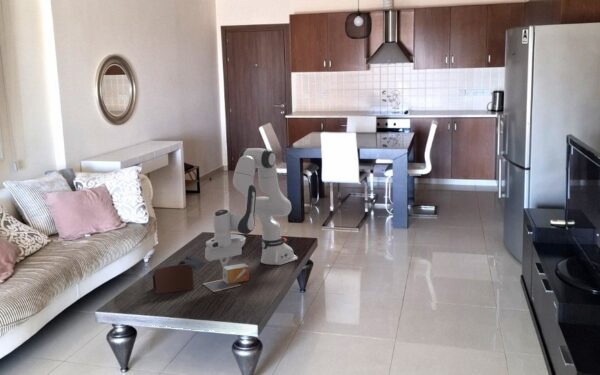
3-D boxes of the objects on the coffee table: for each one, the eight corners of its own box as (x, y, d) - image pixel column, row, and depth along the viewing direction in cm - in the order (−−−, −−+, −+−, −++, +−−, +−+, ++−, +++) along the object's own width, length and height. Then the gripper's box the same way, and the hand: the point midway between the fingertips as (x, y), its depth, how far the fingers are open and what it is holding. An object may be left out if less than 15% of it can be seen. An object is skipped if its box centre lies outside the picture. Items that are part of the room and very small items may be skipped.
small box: (227, 269, 311) (249, 266, 318) (222, 266, 316) (244, 262, 323) (227, 284, 313) (249, 280, 319) (222, 280, 318) (244, 276, 325)
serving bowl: (244, 253, 367) (243, 242, 365) (210, 254, 367) (210, 243, 366) (247, 243, 387) (247, 233, 386) (215, 244, 387) (215, 234, 386)
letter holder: (194, 289, 309) (192, 263, 306) (155, 294, 302) (153, 268, 300) (190, 282, 318) (189, 258, 316) (153, 288, 312) (151, 263, 309)
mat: (229, 278, 323) (229, 277, 323) (241, 285, 311) (241, 285, 311) (202, 284, 315) (202, 283, 315) (213, 292, 303) (213, 291, 303)
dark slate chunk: (167, 274, 333) (166, 266, 332) (182, 262, 354) (181, 254, 353) (192, 275, 330) (192, 267, 329) (206, 263, 351) (205, 255, 350)
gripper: (238, 235, 317) (239, 260, 320) (202, 242, 307) (204, 267, 309) (243, 238, 312) (244, 263, 315) (207, 245, 301) (209, 271, 304)
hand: (224, 265), depth 312 cm, fingers closed
